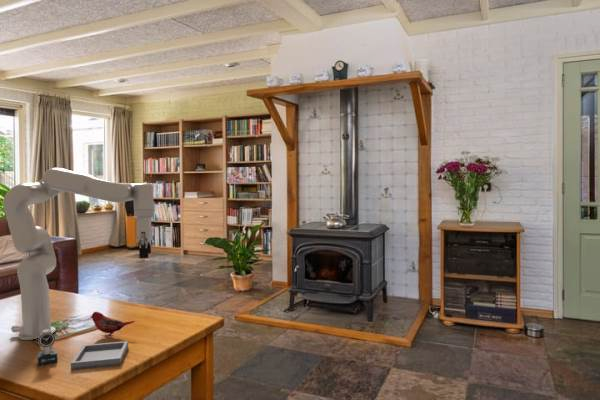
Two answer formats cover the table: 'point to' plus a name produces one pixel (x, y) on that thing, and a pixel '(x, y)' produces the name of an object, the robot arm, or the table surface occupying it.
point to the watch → (47, 348)
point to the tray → (100, 355)
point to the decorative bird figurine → (107, 323)
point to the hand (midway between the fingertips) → (145, 255)
